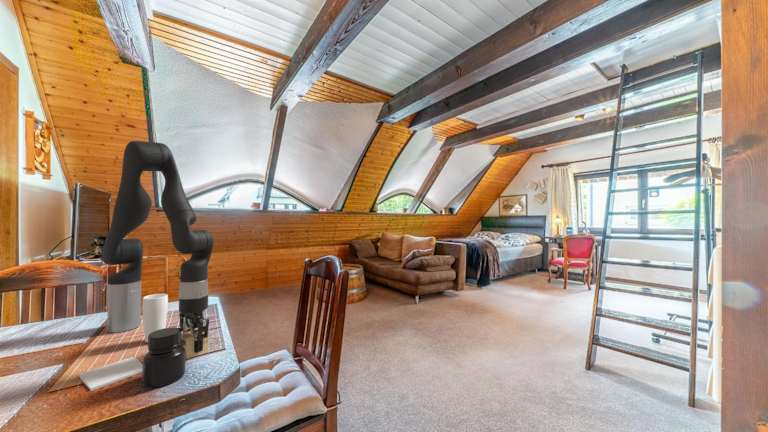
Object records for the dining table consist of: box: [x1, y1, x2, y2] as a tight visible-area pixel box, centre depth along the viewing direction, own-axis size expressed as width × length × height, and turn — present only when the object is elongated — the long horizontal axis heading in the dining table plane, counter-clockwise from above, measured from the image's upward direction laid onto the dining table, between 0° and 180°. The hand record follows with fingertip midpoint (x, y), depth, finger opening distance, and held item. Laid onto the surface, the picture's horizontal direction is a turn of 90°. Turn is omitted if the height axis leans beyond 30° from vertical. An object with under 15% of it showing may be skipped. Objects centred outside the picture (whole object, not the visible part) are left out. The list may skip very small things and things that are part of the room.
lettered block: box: [180, 328, 210, 360], centre depth 87 cm, size 6×7×6 cm
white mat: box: [78, 356, 142, 392], centre depth 75 cm, size 11×11×1 cm
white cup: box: [141, 293, 169, 344], centre depth 95 cm, size 7×7×15 cm
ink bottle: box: [141, 326, 186, 389], centre depth 73 cm, size 10×9×12 cm
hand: (193, 348), depth 87 cm, fingers closed on lettered block, 6 cm apart
